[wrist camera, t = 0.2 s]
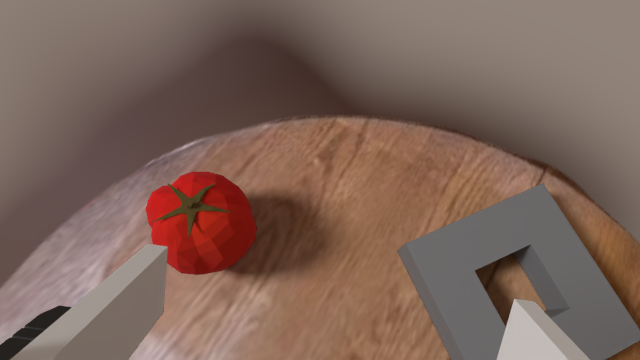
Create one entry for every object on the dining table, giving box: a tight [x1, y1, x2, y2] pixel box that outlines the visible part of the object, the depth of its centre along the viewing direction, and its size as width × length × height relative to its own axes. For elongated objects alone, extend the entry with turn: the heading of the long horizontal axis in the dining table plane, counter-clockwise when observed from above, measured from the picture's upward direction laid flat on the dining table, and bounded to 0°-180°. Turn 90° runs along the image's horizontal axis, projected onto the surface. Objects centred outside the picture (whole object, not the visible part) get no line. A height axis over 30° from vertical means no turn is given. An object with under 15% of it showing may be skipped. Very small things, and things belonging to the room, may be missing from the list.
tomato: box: [146, 172, 257, 275], centre depth 45 cm, size 12×12×13 cm
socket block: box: [397, 183, 640, 360], centre depth 48 cm, size 20×20×4 cm
